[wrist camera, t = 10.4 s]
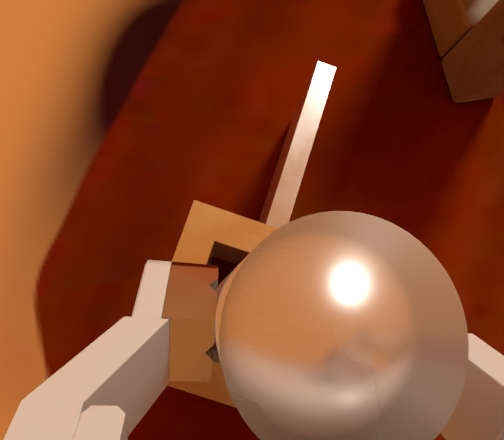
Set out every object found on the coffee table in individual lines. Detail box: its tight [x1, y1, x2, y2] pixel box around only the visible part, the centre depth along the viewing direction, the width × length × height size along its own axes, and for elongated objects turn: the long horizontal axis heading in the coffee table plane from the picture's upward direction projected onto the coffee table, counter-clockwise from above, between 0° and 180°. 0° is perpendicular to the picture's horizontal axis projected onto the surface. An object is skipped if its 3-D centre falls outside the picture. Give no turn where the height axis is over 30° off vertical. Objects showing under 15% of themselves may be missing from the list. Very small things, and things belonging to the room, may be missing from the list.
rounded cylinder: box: [214, 211, 469, 440], centre depth 10 cm, size 3×3×10 cm
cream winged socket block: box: [167, 61, 336, 407], centre depth 23 cm, size 18×16×7 cm
